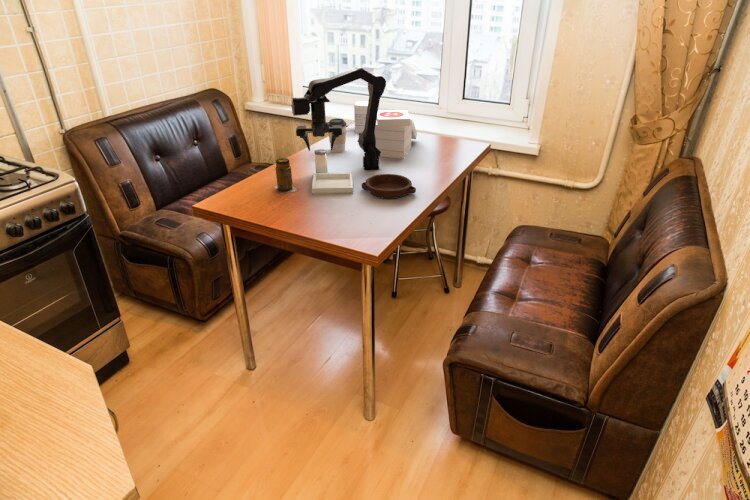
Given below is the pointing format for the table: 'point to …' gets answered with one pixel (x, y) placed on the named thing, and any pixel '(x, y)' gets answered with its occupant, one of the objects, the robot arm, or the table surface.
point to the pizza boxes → (394, 133)
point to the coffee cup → (339, 141)
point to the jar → (320, 161)
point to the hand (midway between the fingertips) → (320, 150)
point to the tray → (332, 183)
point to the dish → (388, 186)
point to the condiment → (284, 176)
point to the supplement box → (360, 115)
